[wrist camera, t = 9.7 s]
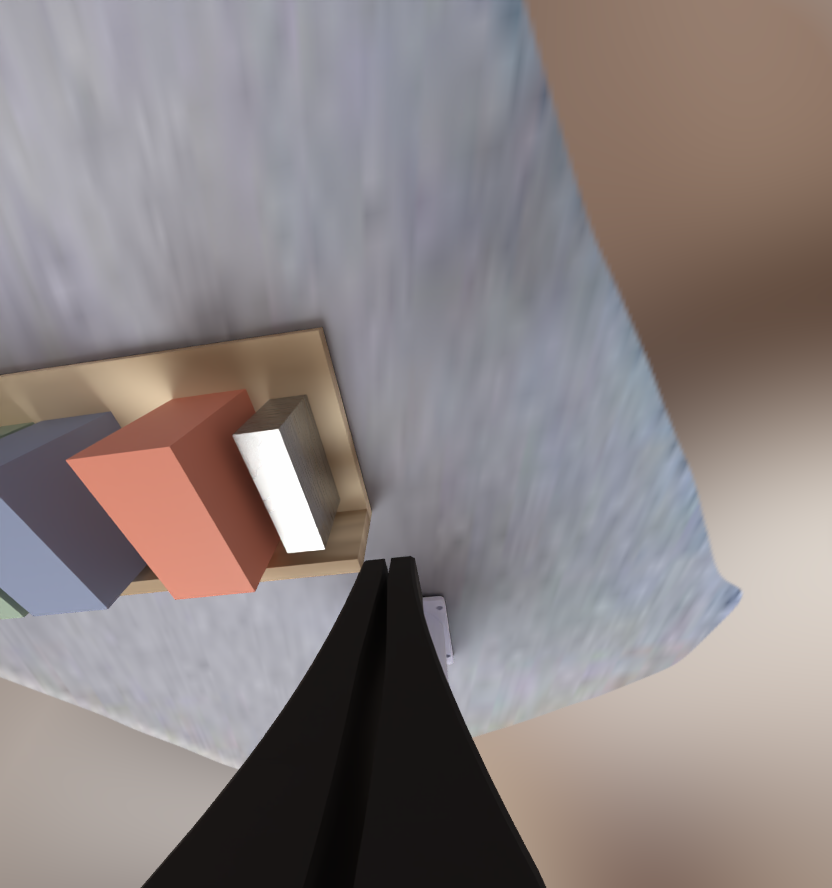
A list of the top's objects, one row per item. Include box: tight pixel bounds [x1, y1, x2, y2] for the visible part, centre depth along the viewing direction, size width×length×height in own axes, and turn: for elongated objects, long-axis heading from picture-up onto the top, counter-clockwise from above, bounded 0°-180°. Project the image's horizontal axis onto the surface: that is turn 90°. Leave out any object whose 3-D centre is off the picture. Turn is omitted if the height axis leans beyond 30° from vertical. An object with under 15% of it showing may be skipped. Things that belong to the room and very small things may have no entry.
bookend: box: [232, 394, 340, 553], centre depth 17 cm, size 7×2×4 cm, turn 8°
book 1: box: [0, 411, 147, 616], centre depth 17 cm, size 8×4×6 cm, turn 8°
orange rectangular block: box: [66, 389, 281, 600], centre depth 16 cm, size 8×4×6 cm, turn 8°
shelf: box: [0, 327, 372, 596], centre depth 17 cm, size 12×22×7 cm, turn 98°
